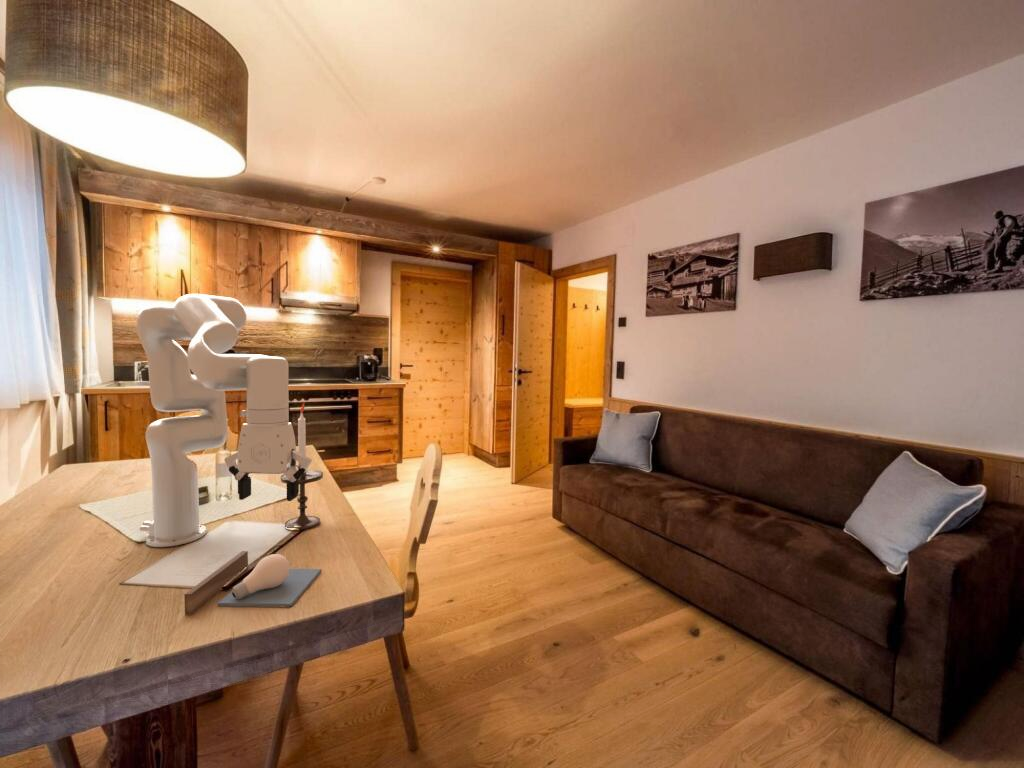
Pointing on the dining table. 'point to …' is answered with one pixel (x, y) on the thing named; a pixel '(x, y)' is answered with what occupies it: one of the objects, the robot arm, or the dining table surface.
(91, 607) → the dining table surface
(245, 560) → the low wall
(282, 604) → the mat
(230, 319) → the robot arm
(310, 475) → the candlestick
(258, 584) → the light bulb
